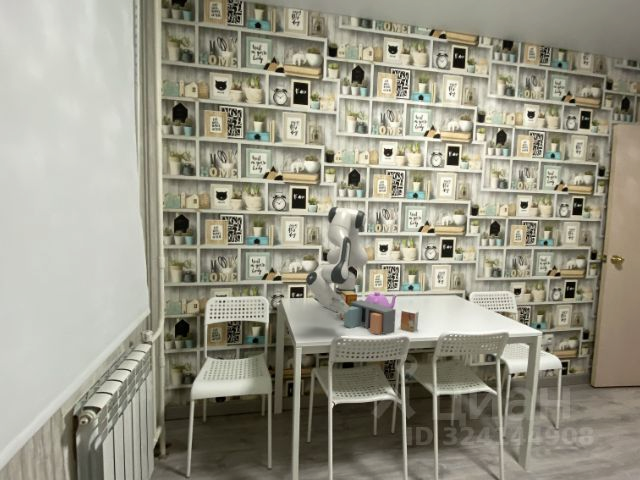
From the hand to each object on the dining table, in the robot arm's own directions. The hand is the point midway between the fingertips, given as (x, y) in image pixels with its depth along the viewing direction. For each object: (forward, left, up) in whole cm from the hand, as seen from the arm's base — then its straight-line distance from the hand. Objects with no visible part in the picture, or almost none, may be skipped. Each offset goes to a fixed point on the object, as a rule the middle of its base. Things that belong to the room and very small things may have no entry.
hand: (339, 311), depth 219 cm
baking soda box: (-11, +18, -10) cm, 23 cm away
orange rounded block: (+16, +14, -9) cm, 23 cm away
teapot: (-6, +41, -10) cm, 43 cm away
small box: (+23, +31, -10) cm, 40 cm away
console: (+8, +17, -10) cm, 21 cm away
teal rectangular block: (0, +10, -9) cm, 14 cm away
